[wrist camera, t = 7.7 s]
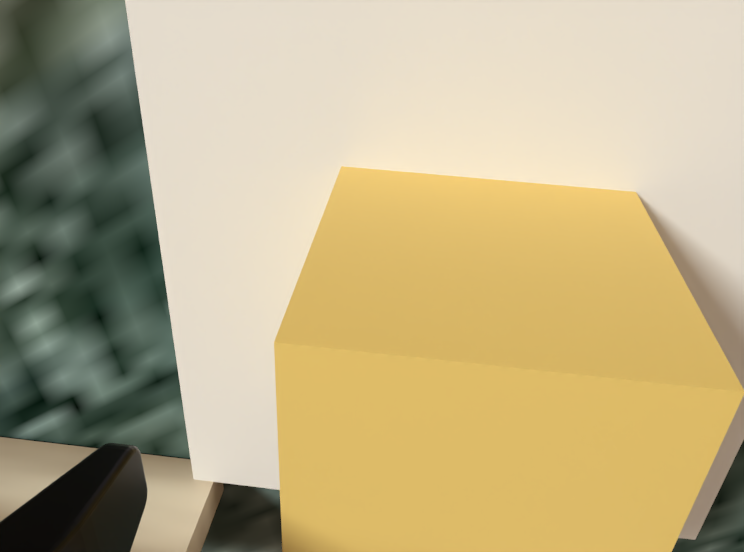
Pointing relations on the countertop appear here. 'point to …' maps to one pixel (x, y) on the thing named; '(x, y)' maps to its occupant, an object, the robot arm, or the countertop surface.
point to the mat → (418, 157)
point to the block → (492, 373)
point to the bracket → (164, 492)
